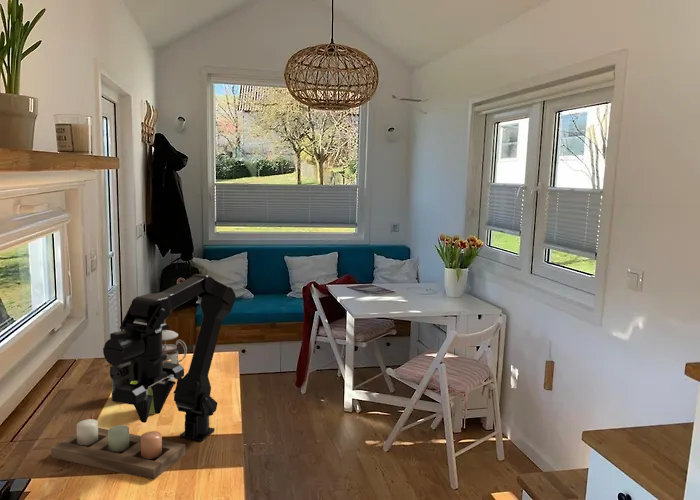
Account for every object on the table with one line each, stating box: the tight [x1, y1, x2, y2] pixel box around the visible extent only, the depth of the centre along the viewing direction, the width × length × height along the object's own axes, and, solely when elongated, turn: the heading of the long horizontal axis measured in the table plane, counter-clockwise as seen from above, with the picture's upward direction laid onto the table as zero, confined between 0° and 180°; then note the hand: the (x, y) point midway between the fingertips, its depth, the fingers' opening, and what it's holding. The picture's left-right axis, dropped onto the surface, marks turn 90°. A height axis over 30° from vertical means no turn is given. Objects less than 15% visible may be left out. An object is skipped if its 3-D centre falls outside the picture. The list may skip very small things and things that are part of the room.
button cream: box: [76, 418, 99, 446], centre depth 135 cm, size 5×5×4 cm
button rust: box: [140, 430, 163, 460], centre depth 130 cm, size 5×5×4 cm
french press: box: [162, 329, 188, 381], centre depth 183 cm, size 10×12×25 cm
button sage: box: [108, 424, 130, 453], centre depth 133 cm, size 5×5×4 cm
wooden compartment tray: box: [50, 427, 186, 481], centre depth 133 cm, size 12×28×2 cm, turn 73°
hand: (150, 417), depth 129 cm, fingers open, 5 cm apart
